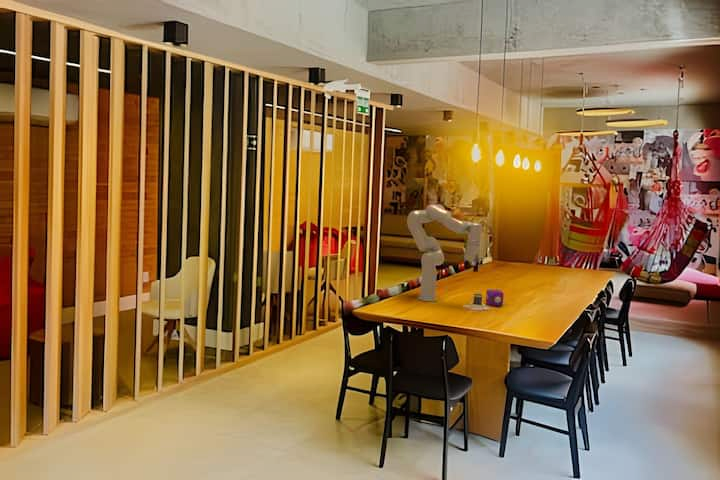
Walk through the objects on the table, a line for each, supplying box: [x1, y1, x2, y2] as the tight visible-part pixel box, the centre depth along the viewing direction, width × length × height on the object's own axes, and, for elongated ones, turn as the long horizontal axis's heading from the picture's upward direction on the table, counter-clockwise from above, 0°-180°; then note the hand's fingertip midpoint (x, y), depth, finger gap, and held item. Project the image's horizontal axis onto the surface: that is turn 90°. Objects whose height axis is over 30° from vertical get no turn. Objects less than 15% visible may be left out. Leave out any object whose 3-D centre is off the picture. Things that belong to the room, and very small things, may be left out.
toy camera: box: [485, 288, 504, 307], centre depth 404 cm, size 11×14×10 cm
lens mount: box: [463, 302, 492, 312], centre depth 390 cm, size 12×12×3 cm
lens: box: [473, 293, 483, 305], centre depth 390 cm, size 5×5×8 cm
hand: (470, 270), depth 389 cm, fingers open, 9 cm apart
